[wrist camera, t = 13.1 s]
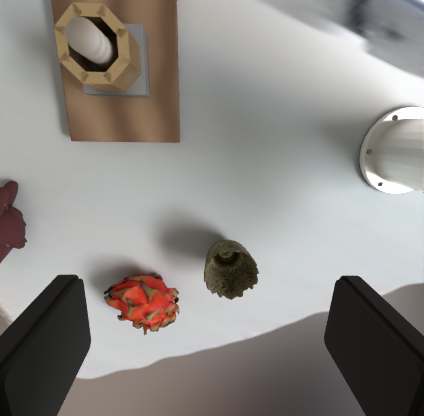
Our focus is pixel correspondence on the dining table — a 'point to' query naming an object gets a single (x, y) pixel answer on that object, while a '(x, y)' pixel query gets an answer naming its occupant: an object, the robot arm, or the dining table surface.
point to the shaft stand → (140, 90)
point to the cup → (229, 269)
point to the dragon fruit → (144, 302)
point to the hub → (111, 27)
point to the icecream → (10, 221)
